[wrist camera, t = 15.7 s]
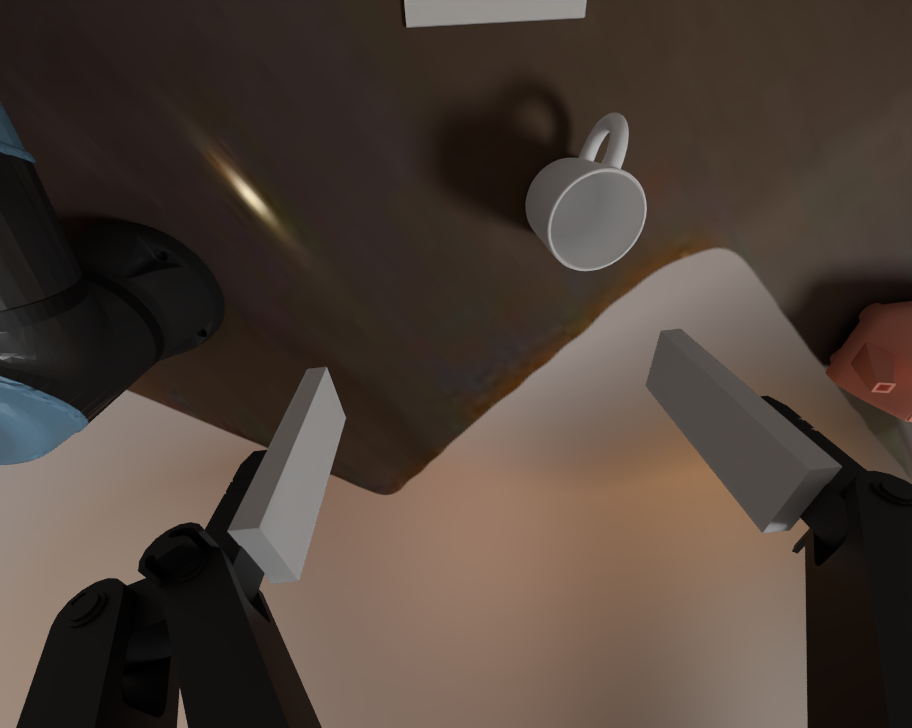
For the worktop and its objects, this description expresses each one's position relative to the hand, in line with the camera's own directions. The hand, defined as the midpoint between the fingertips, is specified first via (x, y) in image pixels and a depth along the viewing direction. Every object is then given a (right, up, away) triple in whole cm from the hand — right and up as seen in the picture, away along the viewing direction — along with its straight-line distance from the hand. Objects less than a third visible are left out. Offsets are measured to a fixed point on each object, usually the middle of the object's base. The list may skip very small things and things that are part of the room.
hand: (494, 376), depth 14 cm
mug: (+10, +20, +23) cm, 32 cm away
